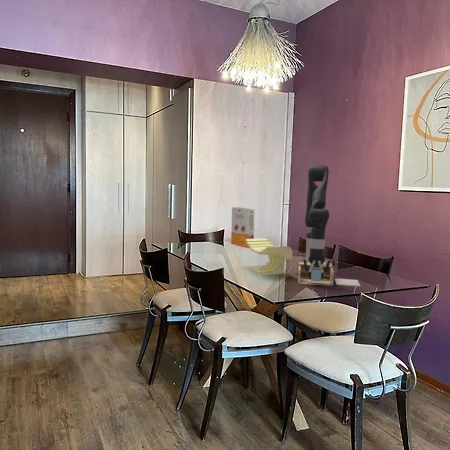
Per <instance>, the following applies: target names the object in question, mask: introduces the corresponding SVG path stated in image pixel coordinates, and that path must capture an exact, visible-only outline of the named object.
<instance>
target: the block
mask: <svg viewBox="0 0 450 450" xmlns="http://www.w3.org/2000/svg"><path fill="white" fill-rule="evenodd" d="M311 281H319V282H321V269H320V268H312V269H311Z"/></svg>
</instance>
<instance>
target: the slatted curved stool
mask: <svg viewBox="0 0 450 450" xmlns="http://www.w3.org/2000/svg"><path fill="white" fill-rule="evenodd" d="M246 244H248V245H247V246H249V248H248V249H250V251H251V252H254V253H256V254H258V255H260V256H261V255H267V257H268V259H269V261H268V263H267V264H266V265H262V266H259V267H258V266H257V267H251V268H250V270H251V271H250V272H252V271H254V272H255V273H257V274H258V276H259V275H263V276H269V275H268V274H278V275H281V274H282V273H283V272H284V269H285V268H284V267H285V262H286V261H287V260H288V261H289V260H293V249H292V248H291V247H290V246H287V245H286V246H274V245H273V243H272V242H271V240H269V239H268V238H262V237H260V238H254V239H246ZM254 272H253V273H254ZM255 273H254V274H255ZM257 274H256V275H257Z"/></svg>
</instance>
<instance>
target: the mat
mask: <svg viewBox="0 0 450 450" xmlns="http://www.w3.org/2000/svg"><path fill="white" fill-rule="evenodd" d="M334 281H335V284H336V286H347V287H361V284H360V282H359V280H358V279H346V278H334Z"/></svg>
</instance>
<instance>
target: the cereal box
mask: <svg viewBox="0 0 450 450" xmlns="http://www.w3.org/2000/svg"><path fill="white" fill-rule="evenodd" d="M230 231H231V236H230V240H231V241H230V244H232V245H234V246H238V247H241V248H245V249H250V248H249V246H247V245H248V244H246V239H255V238H254V237H255V209H253V208H252V209H251V208H246V207H240V206H239V207H238V206H235V207H233V206H232V207H231V230H230Z"/></svg>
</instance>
